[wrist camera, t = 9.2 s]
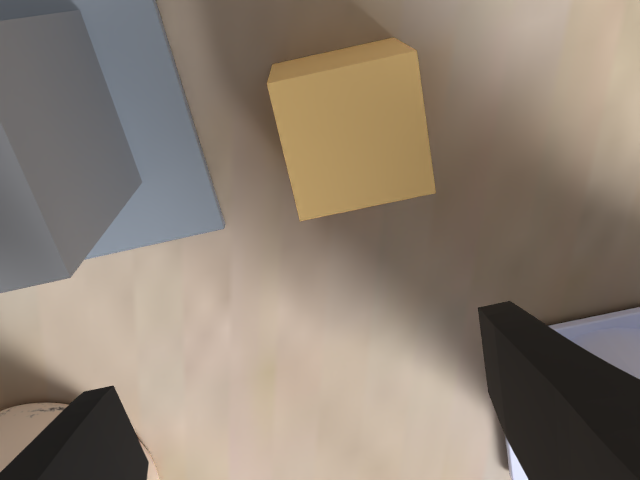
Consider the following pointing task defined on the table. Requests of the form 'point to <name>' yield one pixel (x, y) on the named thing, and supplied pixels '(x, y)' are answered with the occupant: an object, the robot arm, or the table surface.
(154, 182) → the slate mat
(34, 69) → the blue-gray cube on pad
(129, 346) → the table surface
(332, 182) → the ochre cube
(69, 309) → the table surface
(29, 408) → the teacup with lid
